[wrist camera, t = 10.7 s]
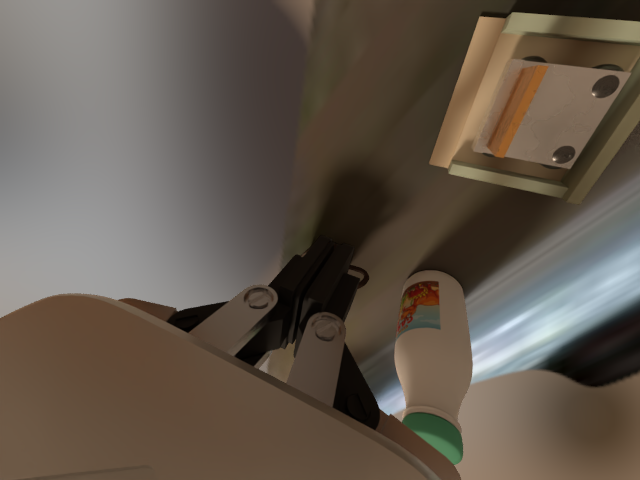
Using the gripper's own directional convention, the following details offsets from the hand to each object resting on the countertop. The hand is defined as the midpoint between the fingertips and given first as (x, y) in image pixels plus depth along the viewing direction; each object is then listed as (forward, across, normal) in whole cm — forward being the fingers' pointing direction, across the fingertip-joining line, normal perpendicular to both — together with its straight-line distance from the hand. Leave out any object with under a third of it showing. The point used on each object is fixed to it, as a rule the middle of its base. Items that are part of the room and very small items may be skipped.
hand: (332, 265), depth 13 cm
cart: (+22, -11, -7) cm, 25 cm away
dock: (+22, -10, -7) cm, 26 cm away
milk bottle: (+22, -10, +16) cm, 29 cm away
